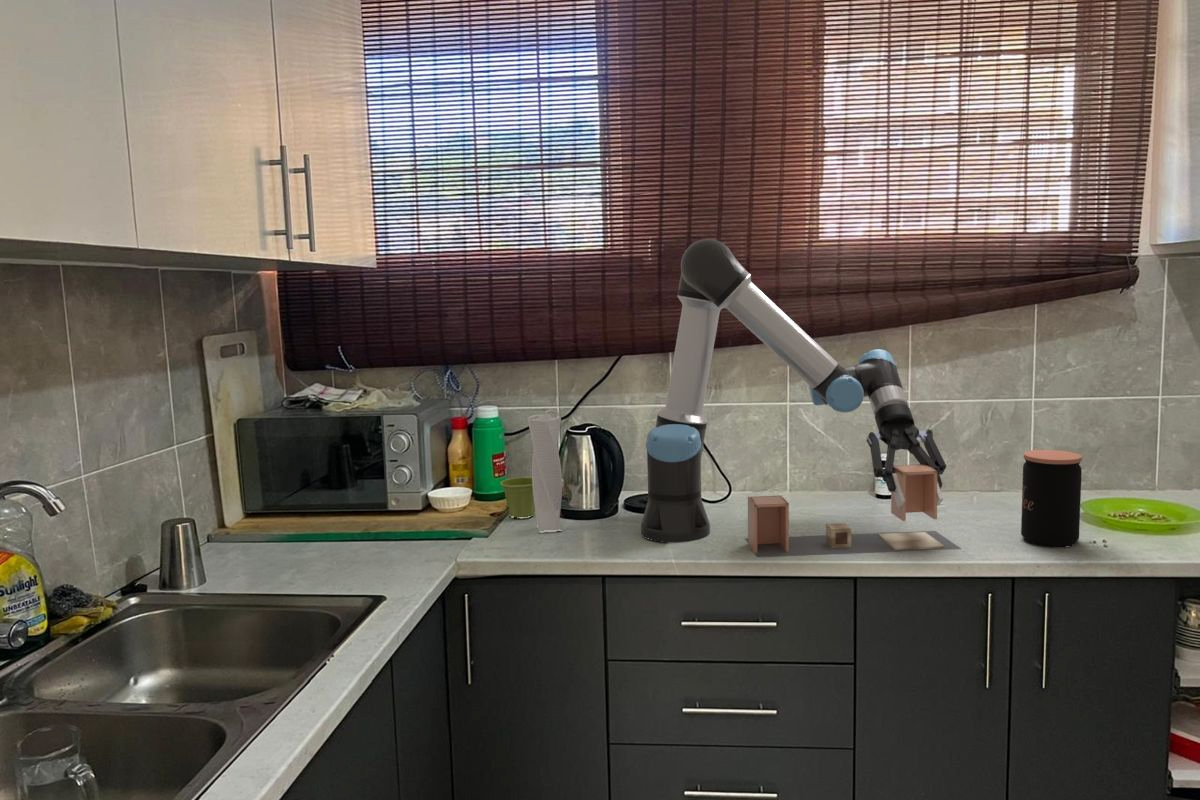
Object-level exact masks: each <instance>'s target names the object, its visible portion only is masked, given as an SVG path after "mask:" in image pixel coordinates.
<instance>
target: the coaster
mask: <svg viewBox="0 0 1200 800" xmlns="http://www.w3.org/2000/svg"><path fill="white" fill-rule="evenodd" d="M914 532H915V533H892V532H889V533H890V534H878V536H879V537H880V538H881V539H883V540H884V541H885V542H886V543H887V544H889V545H890V546H891V547H892V548H893V549H895V550H905V549H929V548H944V547H945V546H944V545H942V544H941V543H940V542H938V541H937V540H935V539H934V538H933V537H931V536H930V535H928V534H927V533H925V532H917V531H914Z"/></svg>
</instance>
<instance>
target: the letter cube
mask: <svg viewBox="0 0 1200 800" xmlns="http://www.w3.org/2000/svg"><path fill="white" fill-rule="evenodd" d="M851 534H852V528H851V527H850V526H849V525H848V524H847V523H846V522H839V523H838V522H837V523H836V522H835V523H825V535H826V543H827V544H828V545H829V546H830V547H831V548H849V547H851Z"/></svg>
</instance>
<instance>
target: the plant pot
mask: <svg viewBox="0 0 1200 800" xmlns="http://www.w3.org/2000/svg"><path fill="white" fill-rule="evenodd" d="M500 485H501V487H502V489H503V492H504V496H505V500H506V501H505V502H506V505H507V506H508V507H509V512H508V516H509V515H511V516H514V517H528V516H532V515H534V514H535V515H536V512H535V505H534V497H533V487H532V477H514V478H508V479H504V480H502V481H500ZM508 507H507V508H508ZM535 515H534V516H535ZM532 517H533V516H532Z"/></svg>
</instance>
